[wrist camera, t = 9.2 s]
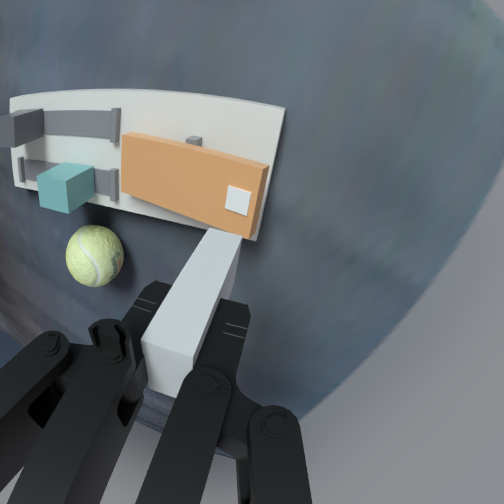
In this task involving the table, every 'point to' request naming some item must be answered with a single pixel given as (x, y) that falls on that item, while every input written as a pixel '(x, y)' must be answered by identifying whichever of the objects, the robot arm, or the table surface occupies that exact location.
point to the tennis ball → (94, 255)
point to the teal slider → (66, 186)
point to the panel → (145, 122)
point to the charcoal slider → (21, 127)
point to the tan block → (194, 181)
